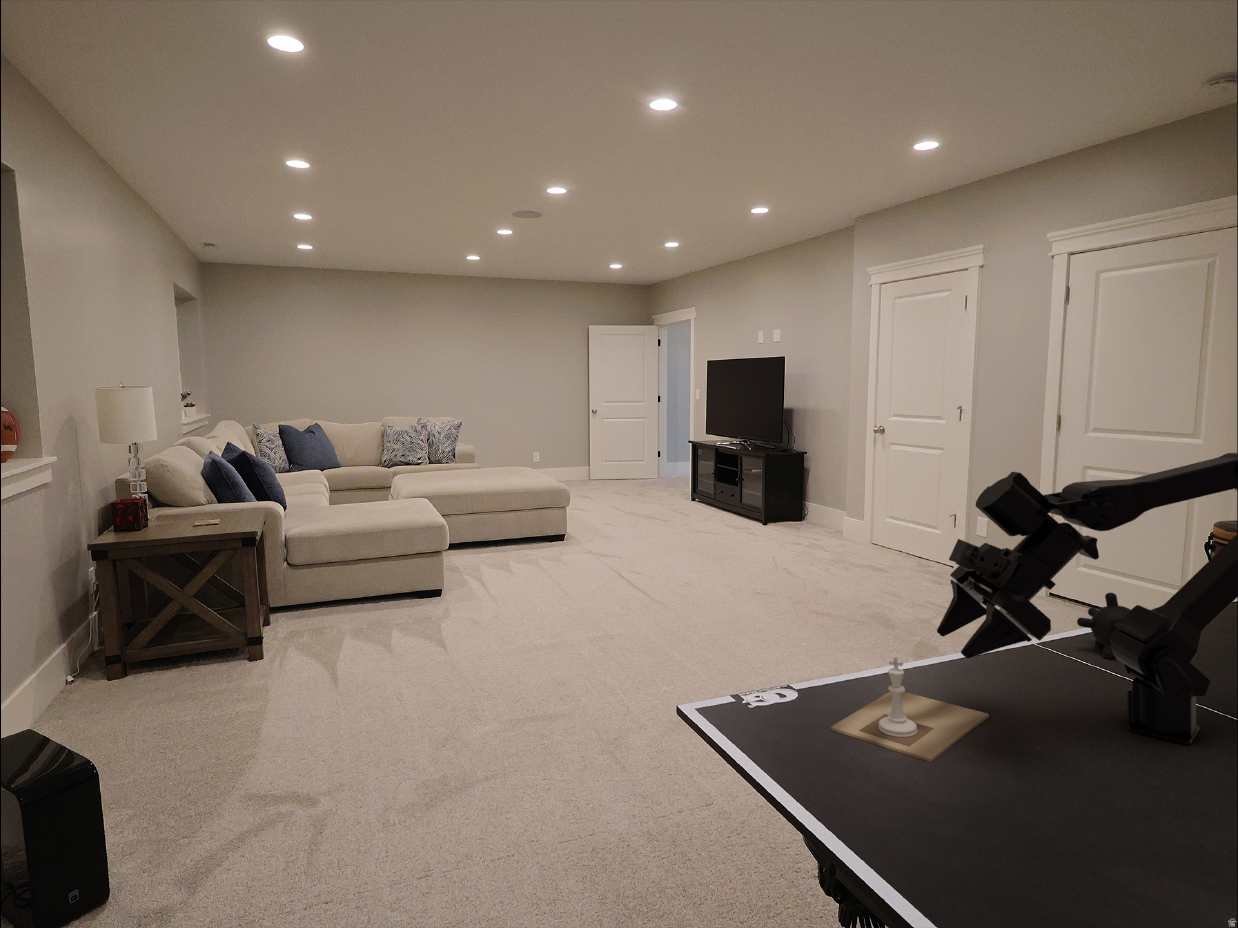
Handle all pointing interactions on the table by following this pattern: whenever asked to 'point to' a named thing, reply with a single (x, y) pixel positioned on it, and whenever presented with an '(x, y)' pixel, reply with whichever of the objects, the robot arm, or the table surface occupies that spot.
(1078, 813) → the table surface
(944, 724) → the board
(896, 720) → the chess piece
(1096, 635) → the knobbed dark ball
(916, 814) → the table surface
